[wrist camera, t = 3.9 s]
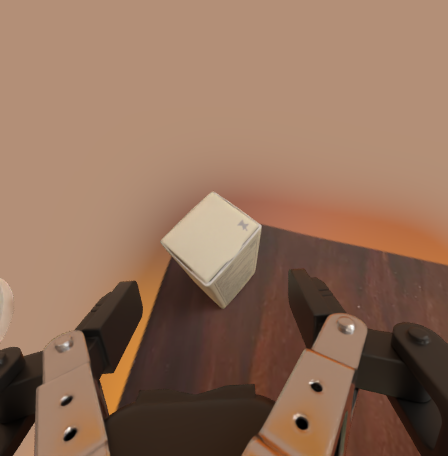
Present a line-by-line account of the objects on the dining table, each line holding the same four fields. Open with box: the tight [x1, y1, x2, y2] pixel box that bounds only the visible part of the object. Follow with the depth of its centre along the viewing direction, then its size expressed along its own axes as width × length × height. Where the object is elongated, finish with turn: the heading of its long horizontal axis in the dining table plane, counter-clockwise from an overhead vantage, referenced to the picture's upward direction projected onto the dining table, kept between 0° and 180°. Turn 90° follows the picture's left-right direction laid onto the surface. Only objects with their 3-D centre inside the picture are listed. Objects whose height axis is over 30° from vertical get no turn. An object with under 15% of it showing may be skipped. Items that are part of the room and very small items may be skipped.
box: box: [160, 192, 261, 309], centre depth 19 cm, size 5×4×11 cm
